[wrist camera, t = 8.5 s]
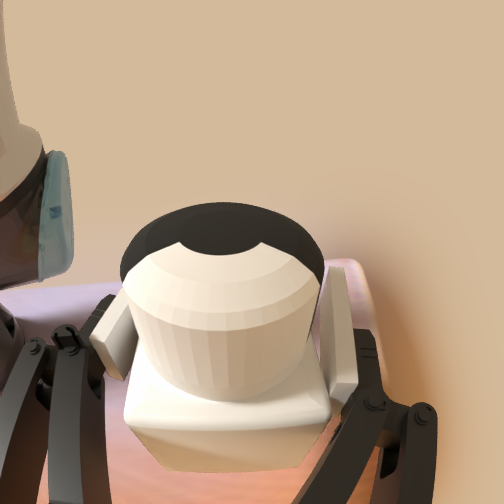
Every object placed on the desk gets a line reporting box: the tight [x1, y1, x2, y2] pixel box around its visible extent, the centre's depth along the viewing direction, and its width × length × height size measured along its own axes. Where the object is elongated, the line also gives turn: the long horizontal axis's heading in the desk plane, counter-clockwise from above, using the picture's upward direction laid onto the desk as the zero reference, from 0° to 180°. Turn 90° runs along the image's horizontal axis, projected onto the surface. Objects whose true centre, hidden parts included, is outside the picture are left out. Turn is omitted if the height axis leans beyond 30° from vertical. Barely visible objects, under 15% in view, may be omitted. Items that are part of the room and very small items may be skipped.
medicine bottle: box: [120, 202, 332, 473], centre depth 12 cm, size 7×7×12 cm
